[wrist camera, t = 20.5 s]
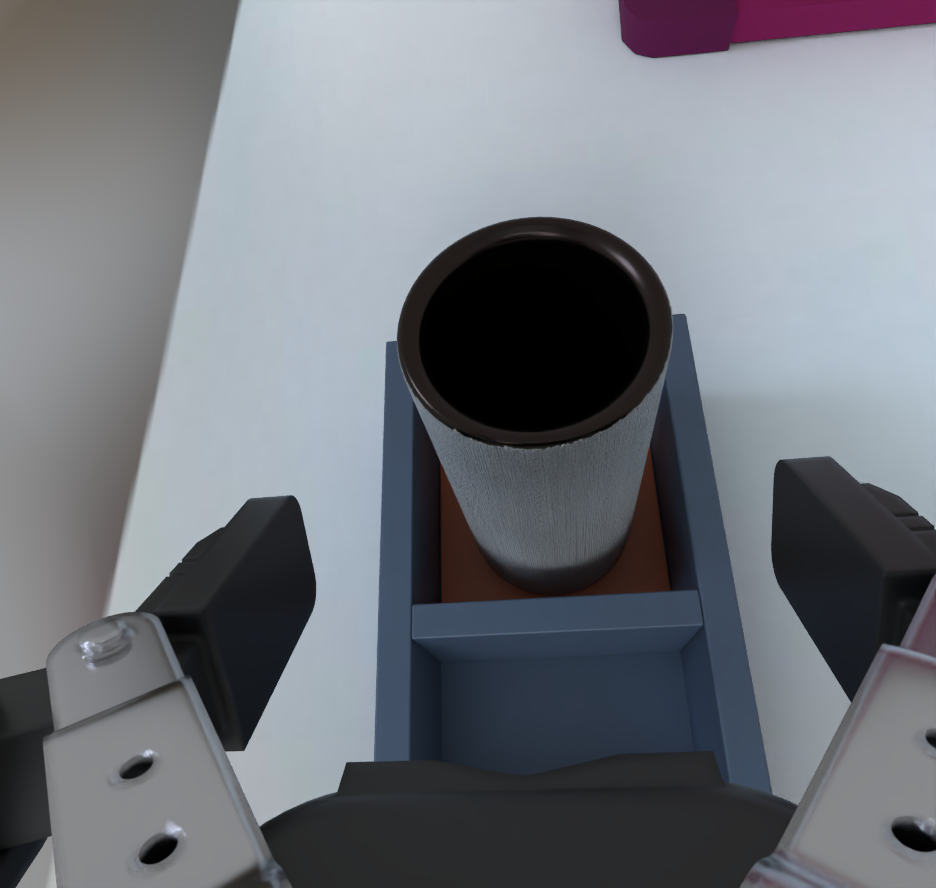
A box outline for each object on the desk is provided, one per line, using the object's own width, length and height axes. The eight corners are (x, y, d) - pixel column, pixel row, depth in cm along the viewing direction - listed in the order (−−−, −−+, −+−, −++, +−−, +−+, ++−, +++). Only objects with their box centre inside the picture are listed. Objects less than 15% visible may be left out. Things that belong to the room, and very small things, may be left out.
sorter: (415, 976, 17) (365, 1041, 13) (419, 415, 24) (385, 341, 20) (758, 979, 17) (819, 1050, 12) (666, 394, 23) (686, 311, 19)
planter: (442, 522, 21) (340, 333, 12) (547, 421, 22) (527, 172, 13) (554, 631, 20) (535, 507, 10) (662, 516, 20) (735, 307, 11)
